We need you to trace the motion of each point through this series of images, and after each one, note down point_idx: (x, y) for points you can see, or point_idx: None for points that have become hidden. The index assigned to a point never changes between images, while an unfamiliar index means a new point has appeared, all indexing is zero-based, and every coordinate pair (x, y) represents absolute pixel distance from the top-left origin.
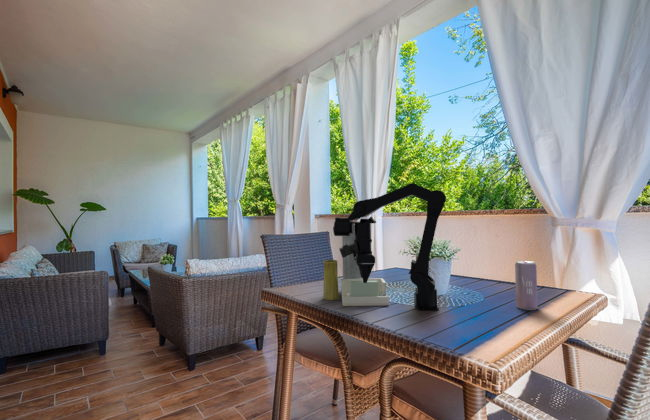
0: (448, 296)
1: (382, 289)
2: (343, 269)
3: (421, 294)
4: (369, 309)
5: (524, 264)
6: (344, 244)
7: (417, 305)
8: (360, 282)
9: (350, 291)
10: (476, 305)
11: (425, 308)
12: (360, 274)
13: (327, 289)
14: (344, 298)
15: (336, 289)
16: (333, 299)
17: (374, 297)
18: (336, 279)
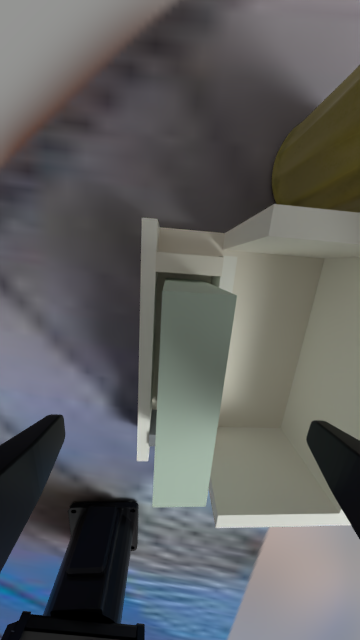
0: (226, 588)
1: (238, 462)
2: None
3: (58, 587)
4: (83, 348)
5: None
6: None
7: (86, 513)
8: (158, 385)
9: (201, 284)
10: (124, 615)
11: (69, 522)
12: (344, 441)
13: (338, 91)
14: (141, 234)
15: (325, 186)
16: (272, 184)
17: (138, 401)
18: None
